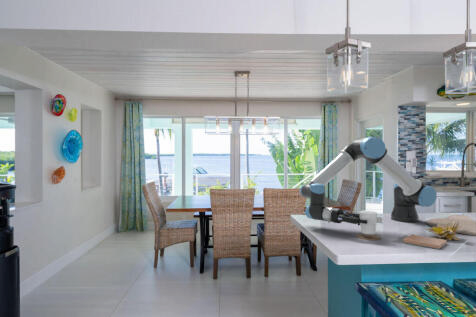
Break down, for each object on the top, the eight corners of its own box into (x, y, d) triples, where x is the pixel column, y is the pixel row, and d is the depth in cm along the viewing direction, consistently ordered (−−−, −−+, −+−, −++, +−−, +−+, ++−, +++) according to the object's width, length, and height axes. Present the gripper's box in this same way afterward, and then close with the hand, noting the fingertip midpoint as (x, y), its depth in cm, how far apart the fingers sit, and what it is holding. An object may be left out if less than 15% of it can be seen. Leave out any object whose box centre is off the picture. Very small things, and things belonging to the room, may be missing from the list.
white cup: (366, 235, 145) (366, 213, 145) (355, 231, 152) (355, 210, 152) (380, 234, 147) (380, 212, 147) (369, 230, 155) (369, 210, 155)
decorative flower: (420, 230, 158) (426, 211, 156) (444, 236, 156) (450, 217, 155) (434, 240, 143) (441, 219, 142) (461, 246, 141) (467, 225, 140)
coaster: (362, 233, 158) (362, 232, 157) (384, 237, 150) (384, 236, 150) (351, 237, 150) (351, 236, 150) (375, 242, 142) (375, 241, 142)
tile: (411, 234, 148) (446, 240, 138) (412, 237, 148) (446, 243, 138) (403, 239, 140) (439, 245, 130) (403, 242, 140) (439, 249, 130)
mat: (404, 236, 153) (404, 235, 153) (445, 242, 141) (445, 241, 141) (392, 242, 142) (392, 241, 142) (435, 250, 130) (435, 249, 130)
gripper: (343, 219, 170) (387, 226, 153) (323, 225, 155) (369, 233, 139) (343, 205, 170) (387, 211, 153) (323, 210, 155) (369, 216, 139)
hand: (378, 221), depth 146 cm, fingers closed on white cup, 7 cm apart
